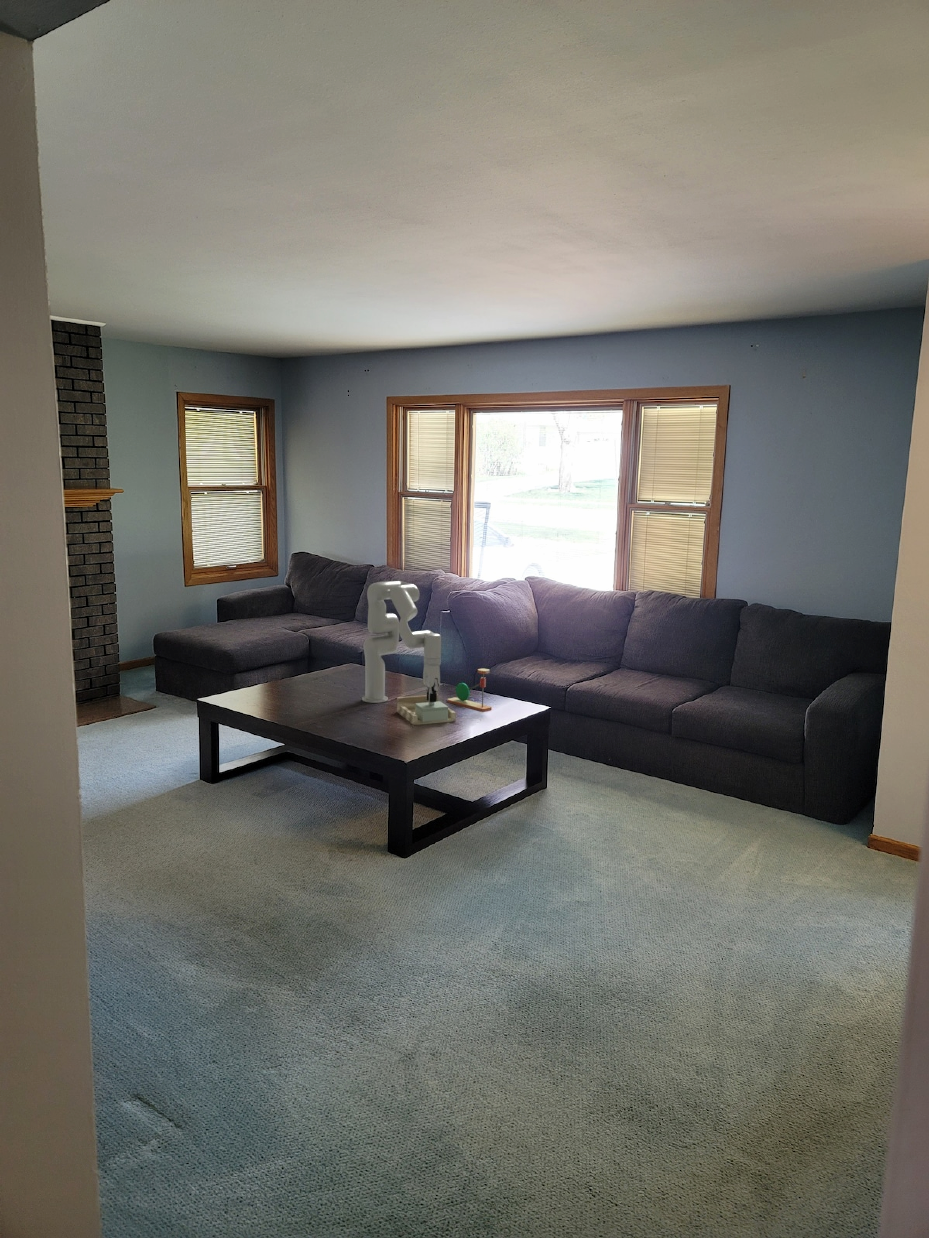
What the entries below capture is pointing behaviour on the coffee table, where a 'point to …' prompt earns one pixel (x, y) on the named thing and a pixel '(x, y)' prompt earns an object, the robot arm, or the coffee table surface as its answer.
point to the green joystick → (431, 710)
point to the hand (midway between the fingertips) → (431, 700)
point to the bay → (408, 709)
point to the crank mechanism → (463, 693)
